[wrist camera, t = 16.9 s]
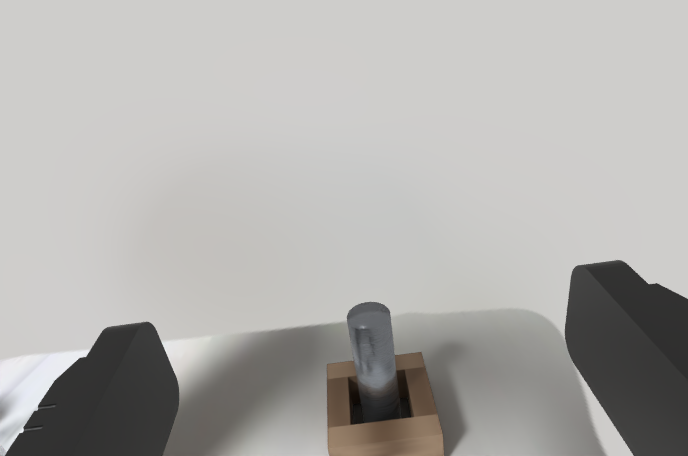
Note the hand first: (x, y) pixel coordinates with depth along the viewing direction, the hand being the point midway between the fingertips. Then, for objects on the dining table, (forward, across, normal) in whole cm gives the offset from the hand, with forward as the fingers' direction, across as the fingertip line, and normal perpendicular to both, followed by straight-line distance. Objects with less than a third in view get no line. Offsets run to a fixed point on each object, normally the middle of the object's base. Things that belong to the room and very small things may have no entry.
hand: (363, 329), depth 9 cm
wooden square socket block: (+20, 0, +28) cm, 34 cm away
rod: (+20, 0, +28) cm, 34 cm away
